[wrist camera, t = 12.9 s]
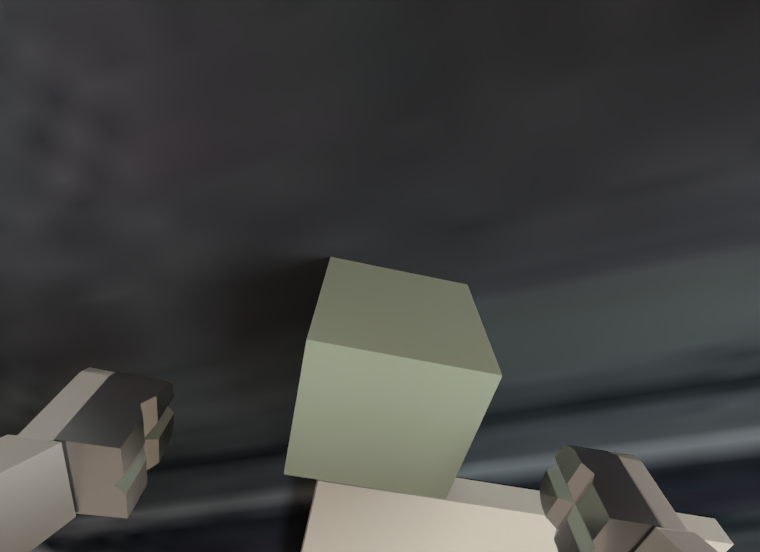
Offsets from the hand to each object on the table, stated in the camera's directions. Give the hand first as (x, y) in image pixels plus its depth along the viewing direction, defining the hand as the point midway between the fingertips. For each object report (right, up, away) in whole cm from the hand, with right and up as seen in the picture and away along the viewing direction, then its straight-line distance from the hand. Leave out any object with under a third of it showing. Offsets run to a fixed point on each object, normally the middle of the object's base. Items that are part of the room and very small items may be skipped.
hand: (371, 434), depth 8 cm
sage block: (0, +2, +4) cm, 4 cm away
